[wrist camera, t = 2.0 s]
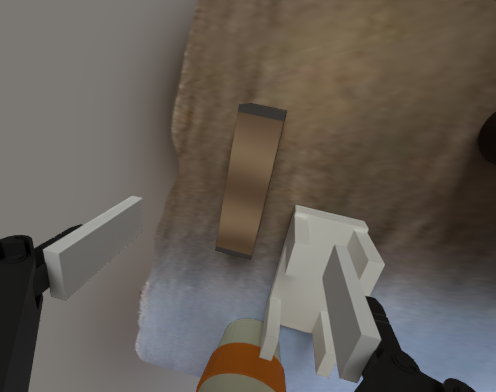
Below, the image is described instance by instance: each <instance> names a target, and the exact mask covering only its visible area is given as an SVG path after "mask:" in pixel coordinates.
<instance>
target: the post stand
mask: <svg viewBox="0 0 496 392" xmlns="http://www.w3.org/2000/svg"><path fill="white" fill-rule="evenodd" d="M368 230H369V229H368V227H367V225H366V224H365V222H364V221H361V220H357V219H353V218H349V217H345V216H340V215H336V214H332V213H328V212H324V211H320V210H315V209H311V208H307V207H303V206H299V205H295V208H294V212H293V215H292V219H291V222H290V226H289V229H288V232H287V236H286V239H285V243H284V246H283V250H282V253H281V256H280V260H279V263H278V267H277V270H276V274H275V277H274V280H273V284H272V287H271V291H270V294H269V298H268V301H267V304H266V308H265V314H264V325H263V332H262V340H261V348H260V356H259V358H263V359H266V360H270V361H271V360H272V357H273V354H274V352H275V349H276V346H277V343H278V340H279V328H280V325H282V326H286V327H289V328H293V329H297V330H300V331H304V332H307V333H311V334H313V346H314V357H315V369H316V374H317V375H321V376H324V377H327V378H329V376H330V374H331V372H332V370H333V368H334V366H335V364H336V362H337V361H336V355H335V349H334V344H333V338H332V332H331V326H330V321H329V315H328V309H327V303H326V298H325V292H324V286H323V280H322V277H323V274H324V271H325V268H326V266H327V263H328V260H329V258H330V255H331V252H332V249H333V247H334V244H336V245H341V246H345V247H347V249H348V252H349V255H350V257H351V260H352V263H353V265H354V268H355V271H356V273H357V276H358V279H359V281H360V284H361V287H362V289H363V292H364V295H365V296H368V297H369V296H370V294H371V292H372V290H373V288H374V286H375V284H376V282H377V280H378V278H379V276H380V274H381V272H382V270H383V268H384V266H385V264H384V262H383V260H382V258H381V257H380V255H379V253H378V251H377V249H376V248H375V246H374V244H373V242H372V241H371V239H370V237H369V235H368V233H367V232H368Z"/></svg>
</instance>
